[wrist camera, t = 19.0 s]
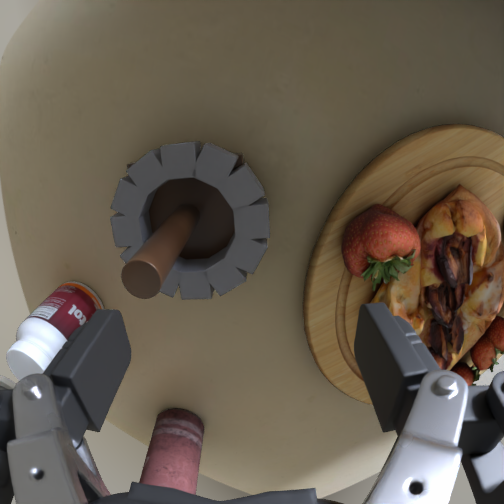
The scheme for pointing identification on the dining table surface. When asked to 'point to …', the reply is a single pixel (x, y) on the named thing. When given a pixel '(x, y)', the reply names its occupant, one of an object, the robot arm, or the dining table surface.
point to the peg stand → (179, 231)
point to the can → (174, 451)
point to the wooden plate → (415, 254)
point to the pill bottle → (51, 328)
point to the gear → (233, 190)
